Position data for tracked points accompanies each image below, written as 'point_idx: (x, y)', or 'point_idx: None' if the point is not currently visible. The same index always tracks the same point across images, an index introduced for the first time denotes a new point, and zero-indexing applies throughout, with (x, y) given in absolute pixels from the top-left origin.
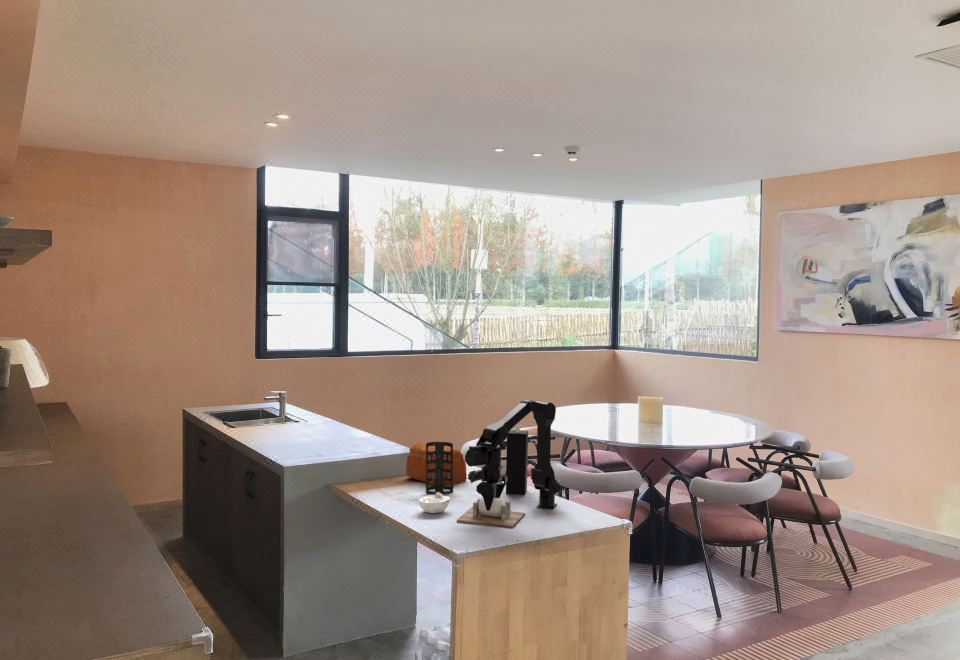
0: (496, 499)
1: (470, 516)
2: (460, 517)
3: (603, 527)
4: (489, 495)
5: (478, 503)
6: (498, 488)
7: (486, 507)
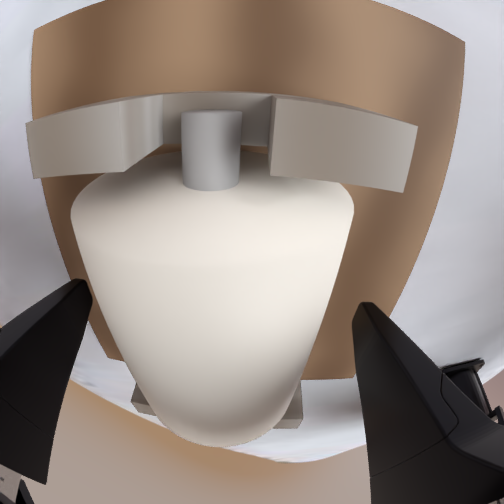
0: (172, 419)
1: (136, 69)
2: (85, 14)
3: (261, 456)
4: (4, 423)
5: (191, 143)
6: (397, 482)
7: (54, 299)
